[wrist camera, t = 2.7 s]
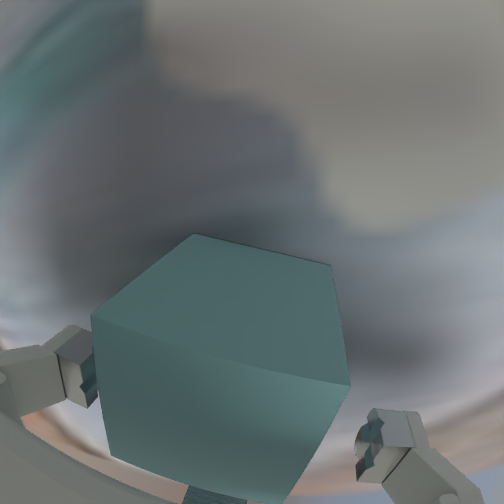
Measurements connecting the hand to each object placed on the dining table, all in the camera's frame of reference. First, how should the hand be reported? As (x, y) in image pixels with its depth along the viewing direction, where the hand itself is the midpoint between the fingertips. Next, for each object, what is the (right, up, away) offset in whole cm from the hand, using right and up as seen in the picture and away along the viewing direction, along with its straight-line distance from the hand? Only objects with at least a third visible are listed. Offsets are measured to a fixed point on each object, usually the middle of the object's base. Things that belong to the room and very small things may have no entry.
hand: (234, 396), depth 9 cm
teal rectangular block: (0, +2, +4) cm, 4 cm away
